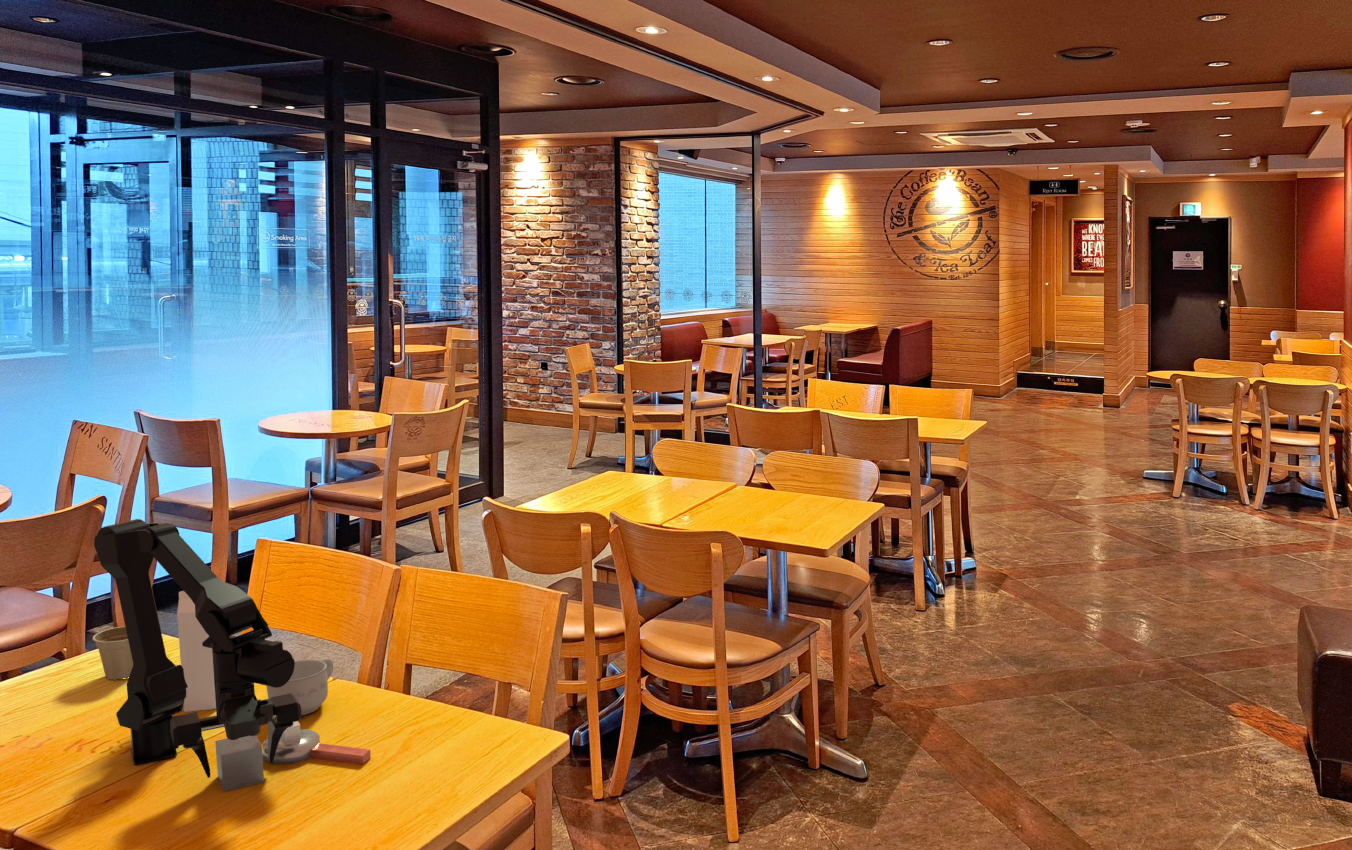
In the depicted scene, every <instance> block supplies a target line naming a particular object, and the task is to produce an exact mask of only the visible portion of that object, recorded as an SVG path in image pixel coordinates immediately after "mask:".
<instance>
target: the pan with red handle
mask: <svg viewBox="0 0 1352 850" xmlns="http://www.w3.org/2000/svg"><path fill="white" fill-rule="evenodd" d="M320 741H321V739H320V734H319V733H318V732H317V731H315V730H311V729H304V728H301V724H300V721H296V722H293V726H291V727H288V728H287V729H286V730H285V731H284V732H283V734H282V736H281V738H280V740H279V743H278V747H277V750H276V753H275V756H274V760H273V763H272V764H274V765H291V764H297V763H302V762H305V761H307V760H310V759H314V760H315V759H316V760H323V761H324V760H325V761H330V762H331V761H332V762H340V763H347V764H349V763H350V764H357V765H364V764H366V761H367V762H368V761H369V760H370V759H372V757H371V755H372V754H371V749H370V748H369V749H368V748H363V747H362V748H361V747H353V746H346V745H345V746H344V745H336V744H328V743H327V744H326V743H321V742H320ZM262 756H263V760H265V762H268V763H269V760H268V737H267V738H266V739H265V740H264V741H263V743H262ZM301 761H302V762H301Z"/></svg>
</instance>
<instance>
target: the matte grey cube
mask: <svg viewBox="0 0 1352 850" xmlns="http://www.w3.org/2000/svg"><path fill="white" fill-rule="evenodd" d="M214 743H215V754H216V755H215V756H216V770H217V771H216V772H217V778H218V781H219V785H220V786H221V790H222V793H225V792H230V791H234V790H237V789H242V788H243V789H244V788H247V787H250V786H251V787H252V786H255V785H261V784H264V783H265V776H264V757H263V745H262V744H261V742H260V740H259V737H258V736H257V735H255V736H246V737H241V738H238V739H237V740H229V739H228V738H227V737H226V738H224V739H223V738H221V739H218V740H215V742H214Z"/></svg>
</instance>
